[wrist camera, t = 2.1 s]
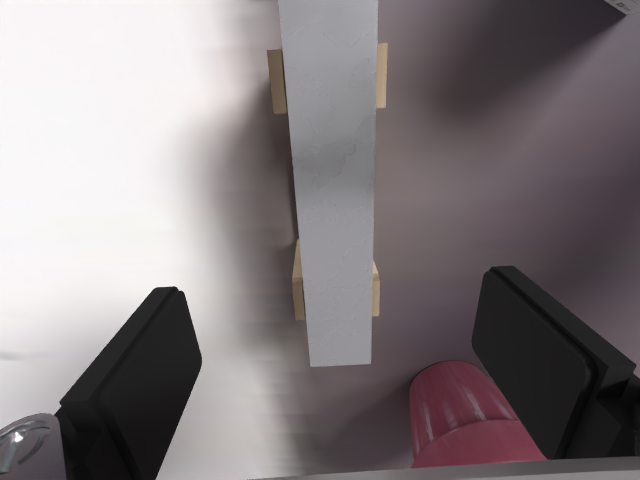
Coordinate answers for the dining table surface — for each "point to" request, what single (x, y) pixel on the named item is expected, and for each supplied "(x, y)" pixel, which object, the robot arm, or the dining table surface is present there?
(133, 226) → the dining table surface
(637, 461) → the robot arm
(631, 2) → the supplement box
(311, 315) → the block
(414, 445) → the plant pot
